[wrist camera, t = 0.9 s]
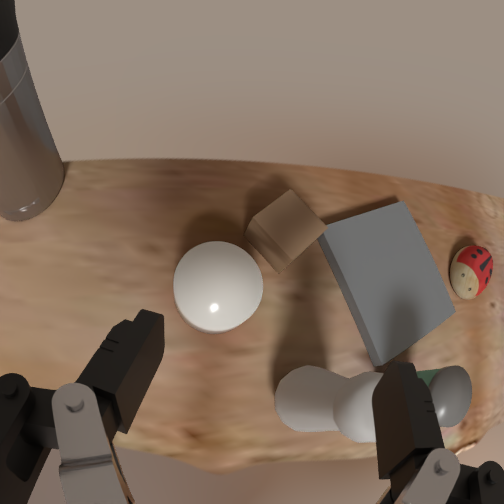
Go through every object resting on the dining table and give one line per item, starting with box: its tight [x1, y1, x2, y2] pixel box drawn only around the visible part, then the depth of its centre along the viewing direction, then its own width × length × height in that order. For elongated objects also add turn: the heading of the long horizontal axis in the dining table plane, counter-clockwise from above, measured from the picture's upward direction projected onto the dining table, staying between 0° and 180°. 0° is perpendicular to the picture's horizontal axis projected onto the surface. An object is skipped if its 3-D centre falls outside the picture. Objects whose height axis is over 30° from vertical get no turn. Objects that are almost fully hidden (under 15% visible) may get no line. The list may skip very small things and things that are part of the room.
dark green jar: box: [416, 366, 472, 427], centre depth 24 cm, size 5×5×9 cm
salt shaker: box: [275, 365, 384, 442], centre depth 21 cm, size 6×6×13 cm
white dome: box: [174, 241, 263, 334], centre depth 27 cm, size 7×7×4 cm
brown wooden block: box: [244, 189, 328, 274], centre depth 30 cm, size 5×5×4 cm
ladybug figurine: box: [450, 246, 493, 299], centre depth 35 cm, size 7×10×4 cm
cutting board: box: [317, 201, 456, 366], centre depth 33 cm, size 15×13×2 cm
